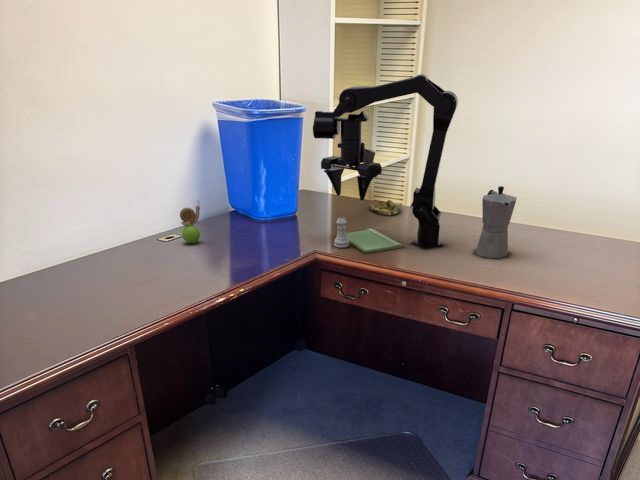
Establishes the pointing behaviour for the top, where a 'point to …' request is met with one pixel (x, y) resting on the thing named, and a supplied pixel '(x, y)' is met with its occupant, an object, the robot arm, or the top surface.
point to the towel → (371, 241)
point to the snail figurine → (190, 224)
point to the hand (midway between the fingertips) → (350, 197)
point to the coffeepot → (495, 224)
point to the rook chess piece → (341, 234)
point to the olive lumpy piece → (385, 208)
